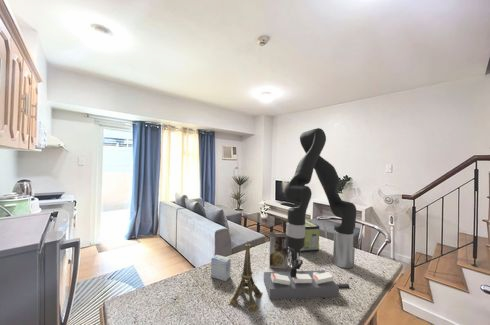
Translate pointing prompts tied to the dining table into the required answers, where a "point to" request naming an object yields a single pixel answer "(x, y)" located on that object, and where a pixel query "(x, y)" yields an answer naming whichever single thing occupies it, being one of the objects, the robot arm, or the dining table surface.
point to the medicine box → (220, 267)
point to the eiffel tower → (247, 283)
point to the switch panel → (300, 287)
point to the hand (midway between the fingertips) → (292, 276)
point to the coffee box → (278, 251)
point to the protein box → (311, 238)
